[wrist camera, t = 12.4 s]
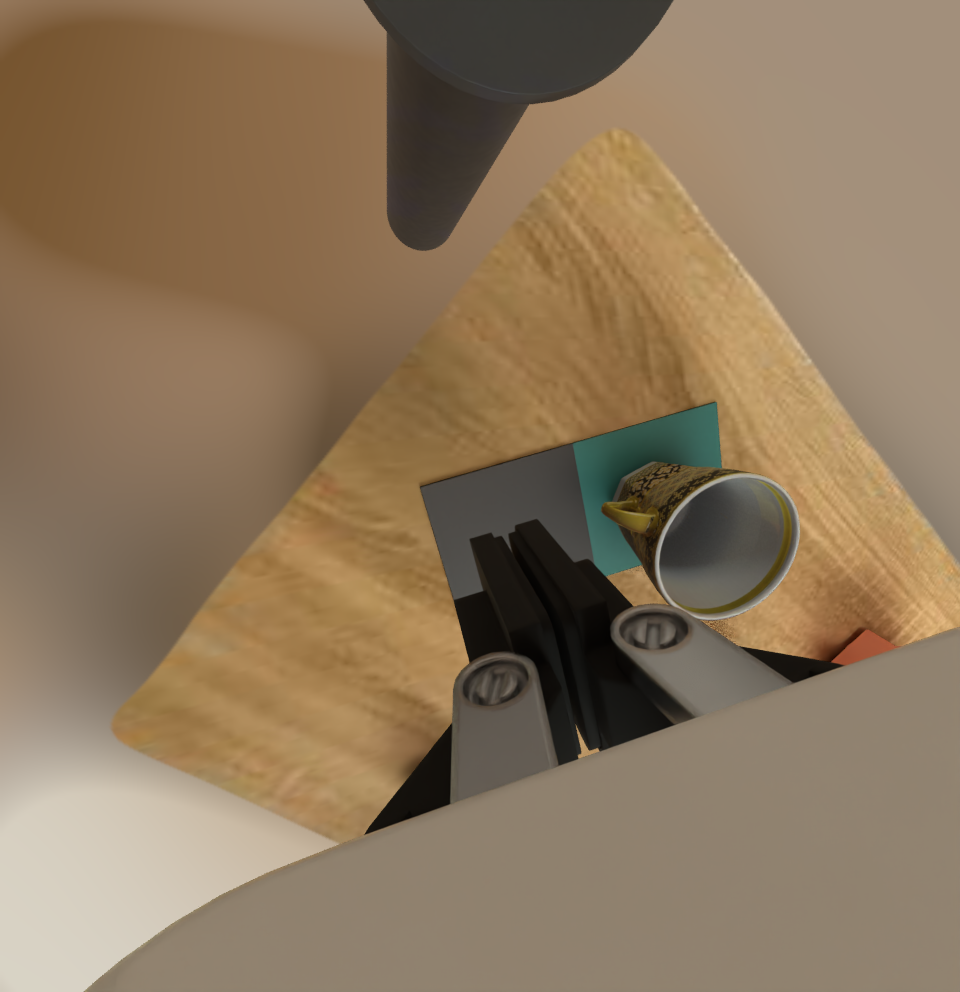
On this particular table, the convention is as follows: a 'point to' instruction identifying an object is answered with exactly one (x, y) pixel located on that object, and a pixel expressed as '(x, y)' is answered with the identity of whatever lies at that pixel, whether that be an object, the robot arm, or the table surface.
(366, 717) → the table surface
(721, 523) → the ceramic cup
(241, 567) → the table surface
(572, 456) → the plate
